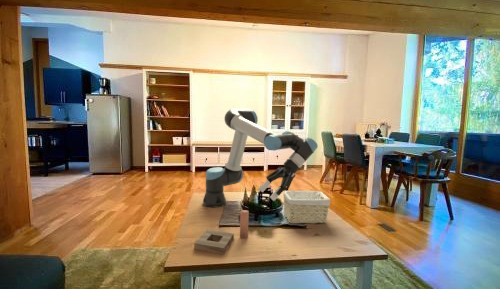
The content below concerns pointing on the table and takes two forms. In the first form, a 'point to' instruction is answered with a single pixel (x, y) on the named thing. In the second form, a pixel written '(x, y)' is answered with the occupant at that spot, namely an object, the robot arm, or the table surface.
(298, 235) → the table surface
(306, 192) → the storage basket
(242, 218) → the pin
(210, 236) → the socket block
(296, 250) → the table surface
